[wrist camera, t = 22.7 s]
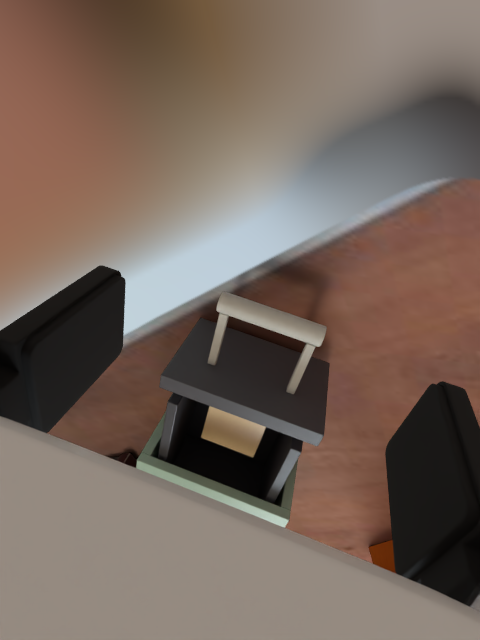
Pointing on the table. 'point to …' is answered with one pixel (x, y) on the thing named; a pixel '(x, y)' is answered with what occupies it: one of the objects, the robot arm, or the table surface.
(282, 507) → the cabinet
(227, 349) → the drawer
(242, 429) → the block
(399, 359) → the table surface
